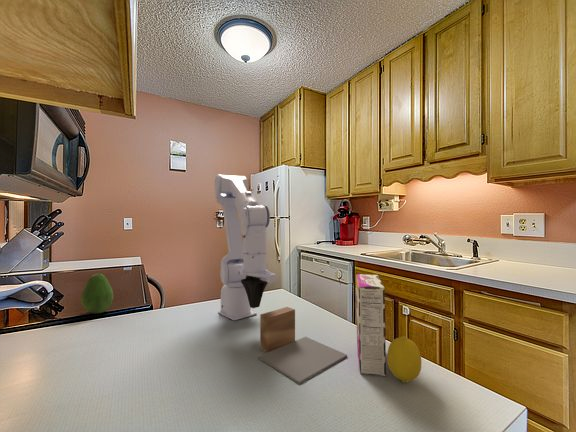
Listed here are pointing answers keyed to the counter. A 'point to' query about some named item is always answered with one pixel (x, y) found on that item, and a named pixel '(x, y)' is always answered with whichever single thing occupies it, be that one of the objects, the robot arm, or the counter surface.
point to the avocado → (97, 294)
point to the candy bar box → (370, 324)
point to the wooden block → (277, 328)
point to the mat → (302, 359)
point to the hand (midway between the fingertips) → (254, 306)
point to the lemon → (404, 359)
